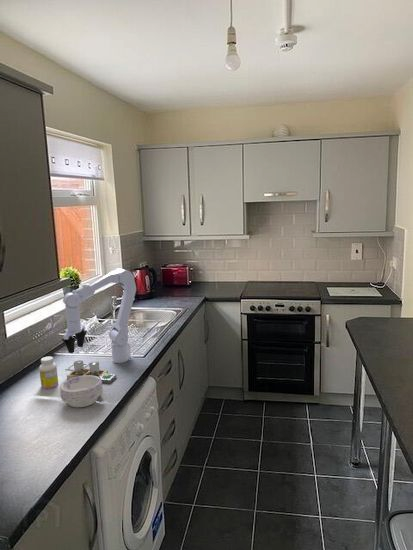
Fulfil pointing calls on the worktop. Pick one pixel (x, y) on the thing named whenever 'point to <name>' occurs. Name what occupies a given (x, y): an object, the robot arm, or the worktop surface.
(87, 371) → the wooden compartment tray
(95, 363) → the seated billet
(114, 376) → the grey square socket block
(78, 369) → the billet
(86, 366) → the tray
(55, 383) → the supplement bottle
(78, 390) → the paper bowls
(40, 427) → the worktop surface
